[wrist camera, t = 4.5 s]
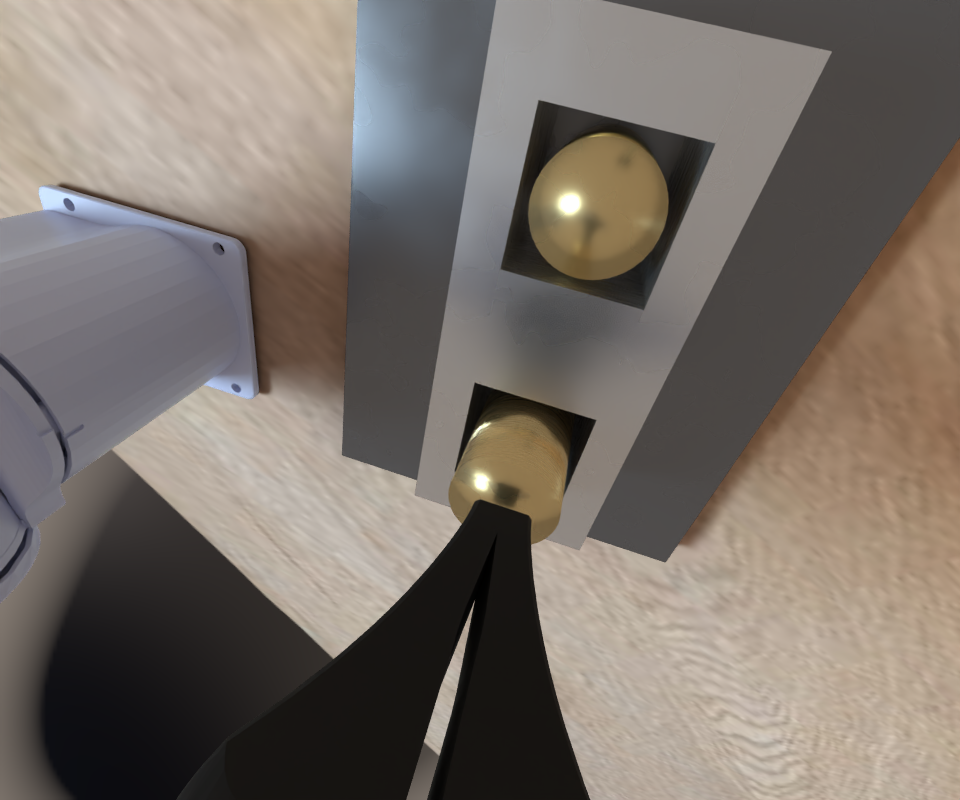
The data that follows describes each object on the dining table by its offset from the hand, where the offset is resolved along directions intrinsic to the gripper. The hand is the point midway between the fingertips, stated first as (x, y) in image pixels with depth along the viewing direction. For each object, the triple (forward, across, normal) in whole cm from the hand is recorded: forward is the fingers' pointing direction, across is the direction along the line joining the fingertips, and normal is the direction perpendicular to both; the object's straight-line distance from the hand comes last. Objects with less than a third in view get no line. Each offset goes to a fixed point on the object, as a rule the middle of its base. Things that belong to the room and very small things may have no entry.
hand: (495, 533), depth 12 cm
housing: (+8, 0, -4) cm, 9 cm away
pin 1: (+5, 0, 0) cm, 5 cm away
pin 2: (+8, 0, -7) cm, 11 cm away
